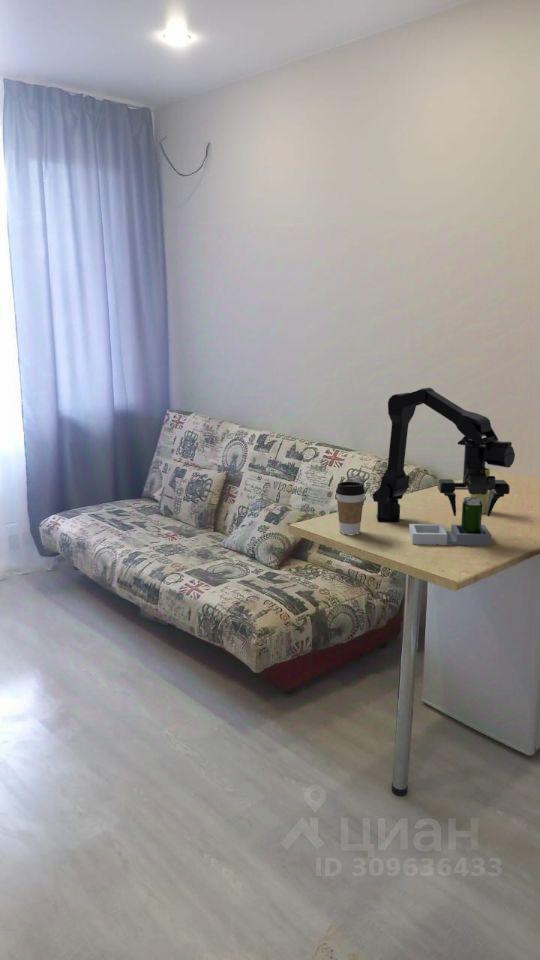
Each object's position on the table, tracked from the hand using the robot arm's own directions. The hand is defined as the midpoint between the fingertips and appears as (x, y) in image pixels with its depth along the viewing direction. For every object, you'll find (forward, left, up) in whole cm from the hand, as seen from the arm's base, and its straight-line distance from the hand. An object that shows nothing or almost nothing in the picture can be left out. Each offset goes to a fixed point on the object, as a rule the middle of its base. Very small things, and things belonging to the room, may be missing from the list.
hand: (471, 516), depth 197 cm
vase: (+8, +29, -7) cm, 31 cm away
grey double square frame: (-6, 0, -7) cm, 9 cm away
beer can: (0, 0, -7) cm, 7 cm away
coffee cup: (-34, +5, -7) cm, 35 cm away
